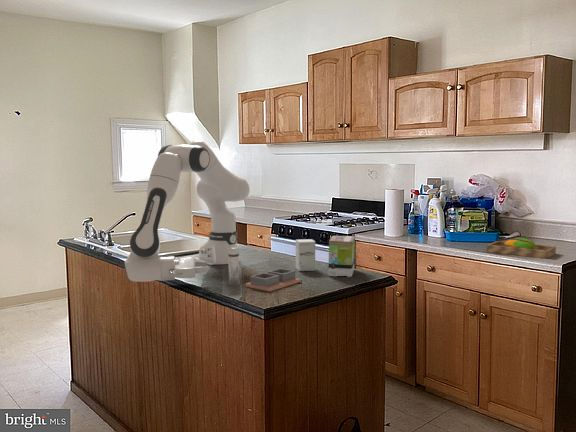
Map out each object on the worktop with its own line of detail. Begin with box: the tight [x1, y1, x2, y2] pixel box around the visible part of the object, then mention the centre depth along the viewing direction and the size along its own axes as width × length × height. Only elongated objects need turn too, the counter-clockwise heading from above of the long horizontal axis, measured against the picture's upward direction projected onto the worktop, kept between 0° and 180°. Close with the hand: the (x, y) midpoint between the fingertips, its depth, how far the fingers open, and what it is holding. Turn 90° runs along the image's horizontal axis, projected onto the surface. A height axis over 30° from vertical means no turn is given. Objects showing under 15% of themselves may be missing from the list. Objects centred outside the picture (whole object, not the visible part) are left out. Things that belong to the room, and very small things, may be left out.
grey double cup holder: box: [245, 267, 301, 292], centre depth 205 cm, size 12×18×4 cm, turn 141°
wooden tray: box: [486, 240, 557, 259], centre depth 263 cm, size 28×15×4 cm, turn 51°
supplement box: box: [295, 238, 316, 272], centre depth 230 cm, size 7×7×13 cm
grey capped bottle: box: [228, 246, 241, 287], centre depth 205 cm, size 4×4×14 cm
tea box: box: [327, 235, 356, 278], centre depth 223 cm, size 15×10×15 cm
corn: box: [504, 237, 537, 250], centre depth 264 cm, size 7×8×20 cm
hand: (207, 266), depth 203 cm, fingers open, 8 cm apart
